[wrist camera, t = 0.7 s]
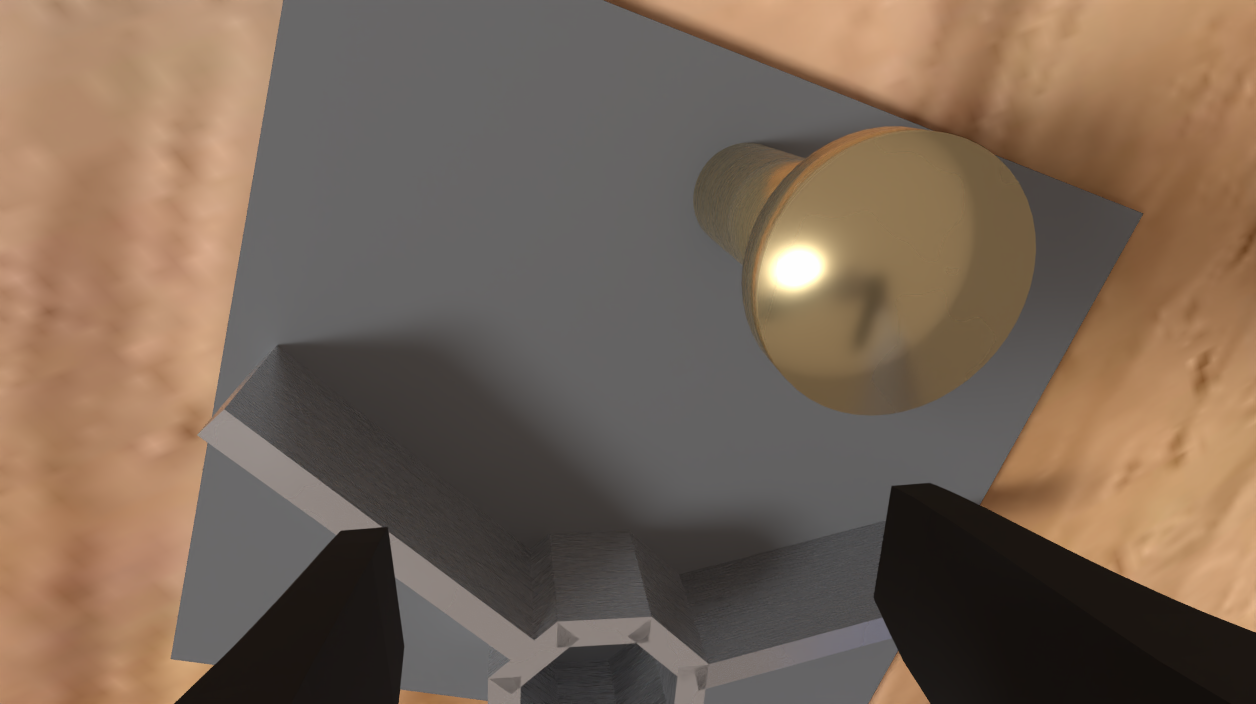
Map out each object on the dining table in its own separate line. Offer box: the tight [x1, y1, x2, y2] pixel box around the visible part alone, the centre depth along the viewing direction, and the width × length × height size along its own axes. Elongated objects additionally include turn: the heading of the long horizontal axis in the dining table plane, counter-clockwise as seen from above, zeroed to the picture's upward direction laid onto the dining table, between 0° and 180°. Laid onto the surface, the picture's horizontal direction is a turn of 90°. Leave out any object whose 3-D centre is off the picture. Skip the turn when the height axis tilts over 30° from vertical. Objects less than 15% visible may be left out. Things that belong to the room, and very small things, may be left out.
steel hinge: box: [198, 345, 892, 704], centre depth 19 cm, size 18×13×4 cm
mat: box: [171, 0, 1143, 704], centre depth 20 cm, size 22×20×1 cm
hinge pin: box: [693, 126, 1036, 416], centre depth 14 cm, size 4×4×8 cm
